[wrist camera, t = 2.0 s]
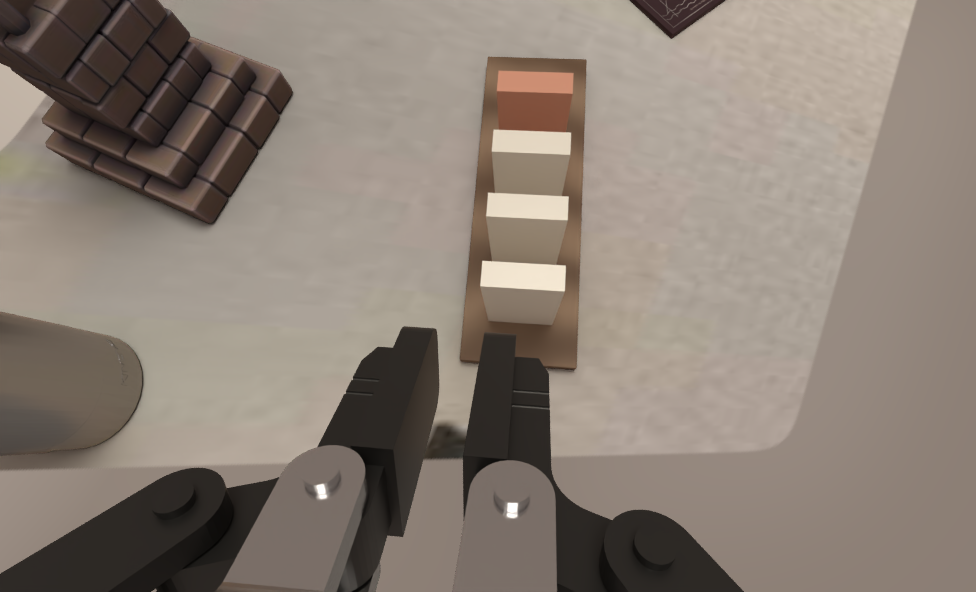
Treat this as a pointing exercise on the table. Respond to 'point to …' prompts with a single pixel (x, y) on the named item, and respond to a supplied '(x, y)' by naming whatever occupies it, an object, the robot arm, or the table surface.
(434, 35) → the table surface
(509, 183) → the domino
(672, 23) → the chocolate bar
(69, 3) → the miniature tower
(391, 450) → the robot arm
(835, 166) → the table surface
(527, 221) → the domino
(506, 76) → the terracotta end domino
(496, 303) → the domino
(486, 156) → the walnut board
